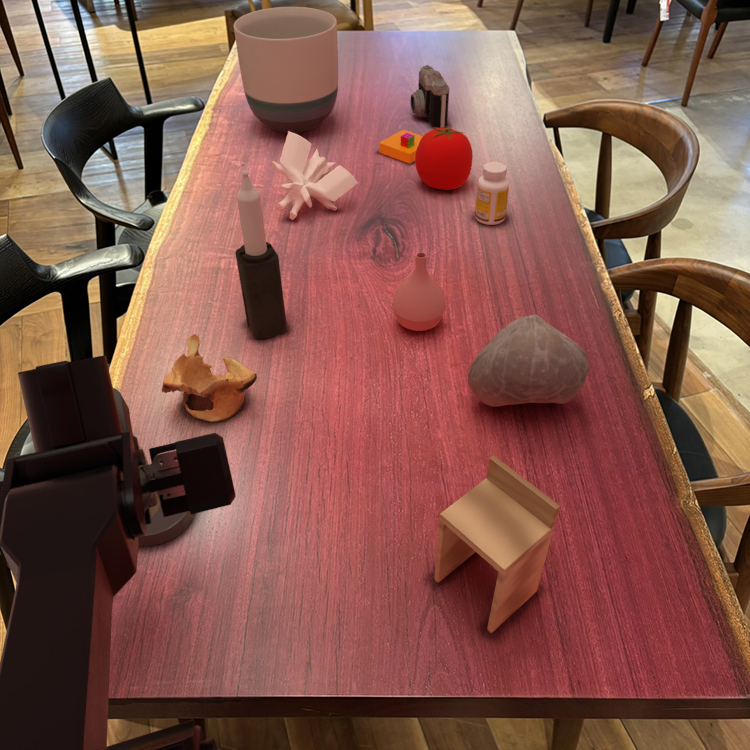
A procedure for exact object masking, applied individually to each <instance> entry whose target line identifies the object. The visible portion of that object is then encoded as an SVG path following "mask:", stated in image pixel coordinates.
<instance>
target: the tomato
mask: <svg viewBox="0 0 750 750" xmlns="http://www.w3.org/2000/svg"><path fill="white" fill-rule="evenodd" d="M452 128H453V125H451V126H450V127H444V128H432V129H430V130H429V131H427V132H426V133H425V134H423V135H422V136H423V137H422V139H421V140H420V142H419V145H418V147H417V150H416V154H415V161H414V163H415V170H416V172H417V175H418V177H419V178H420V180H421V181H422V182H423V184H425V185H427V186H428V187H430V188H433V189H438V190H443V191H445V190H446V191H450V190H456V189H458V188H460V187H462V186H463V185H464V184H465V183H466V182H467V181H468V179H469V176H471V171H472V168H473V159H474V158H473V157H474V155H473V147H472V144H471V142H470V140H469V137H467V136H466V135H465V133H464V132H462V131H459V130H456V129H452Z"/></svg>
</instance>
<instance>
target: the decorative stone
mask: <svg viewBox="0 0 750 750" xmlns="http://www.w3.org/2000/svg"><path fill="white" fill-rule="evenodd" d="M587 355H588V354H587V352H586V351H585V350H584V348H582V347H581V346H580V345H579V344H578V343H576V342H575V341H574V340H573V339H571V338H570V337H568V336H567V335H565V334H564V332H562V331H560V330H559V329H557V328H555V327H554V326H553V325H551V324H549V323H548V322H546V320H544V319H543V318H542V317H541V316H540V315H538V314H530V315H524V316H520V317H518V318H516V319H514V320H513V321H511V322H510V323H508V324H507V325H505V326H504V327H503V328H502V329H501V330H499V332H497V333H496V334H495V335H494V336H493V337H492V338H491V339H490V341H489V342H488V343H487V345H485V346H484V347H483V348H482V349H480V351H479V352H478V353H477V354H476V356H475V358H474V360H473V361H472V363H471V364H470V368H469V370H468V374H467V383H468V385H469V386H468V387H469V389H470V390H471V392H472V393H473V395H474V396H475V398H476V399H478V400H479V401H480V402H482V403H483V404H484V405H487V406H489V407H496V408H497V407H503V406H508V405H520V404H522V405H523V404H528V403H530V404H531V403H532V404H551V403H554V404H559V405H564V404H567V403H569V402H570V401H572V400H573V399H574V398H575V396H576V395H578V393H579V392H580V391H581V390H582V388H583V386H584V385H585V383H586V380H587V378H588V374H589V372H590V366H589V365H590V364H589V360H588V359H589V357H588V356H587Z"/></svg>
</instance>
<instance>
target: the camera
mask: <svg viewBox="0 0 750 750" xmlns="http://www.w3.org/2000/svg"><path fill="white" fill-rule="evenodd" d="M417 88H418V89H416V90H415V92H413V93H411V94H410V109H411V112H412V114H413V115H415V116H417V117H419V118H422V119H426V120H427V122H428V123H429V124H430V126H431V128H432V129H436V128H448V115H449V98H450V86H449V85H448V83H447V82H446V80H445V78H444V77H443V76H442V74H441V72H440V71H438V70H436V69H434V67H433V66H431V65H429V64H426V65H423V66H421V67H420V69H419V70H418V87H417Z"/></svg>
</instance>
